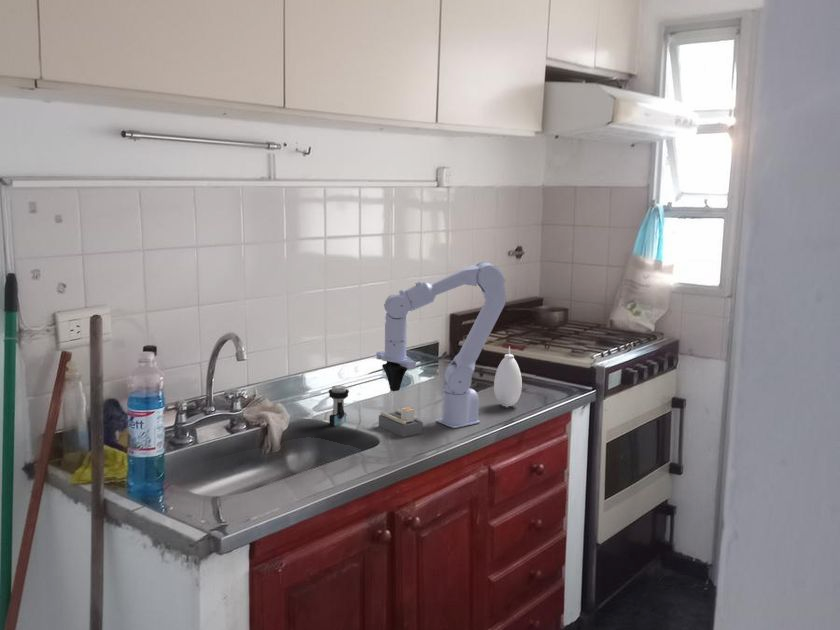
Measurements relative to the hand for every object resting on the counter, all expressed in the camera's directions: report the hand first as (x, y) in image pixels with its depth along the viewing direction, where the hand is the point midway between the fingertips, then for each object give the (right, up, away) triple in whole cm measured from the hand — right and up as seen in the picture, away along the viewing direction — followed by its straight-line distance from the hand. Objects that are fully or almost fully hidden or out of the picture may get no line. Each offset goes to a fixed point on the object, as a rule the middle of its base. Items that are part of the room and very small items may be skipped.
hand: (394, 390), depth 216 cm
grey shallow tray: (+2, -10, -4) cm, 11 cm away
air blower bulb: (+32, -7, +21) cm, 39 cm away
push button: (-15, -9, +1) cm, 17 cm away
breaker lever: (+4, -7, -7) cm, 10 cm away
